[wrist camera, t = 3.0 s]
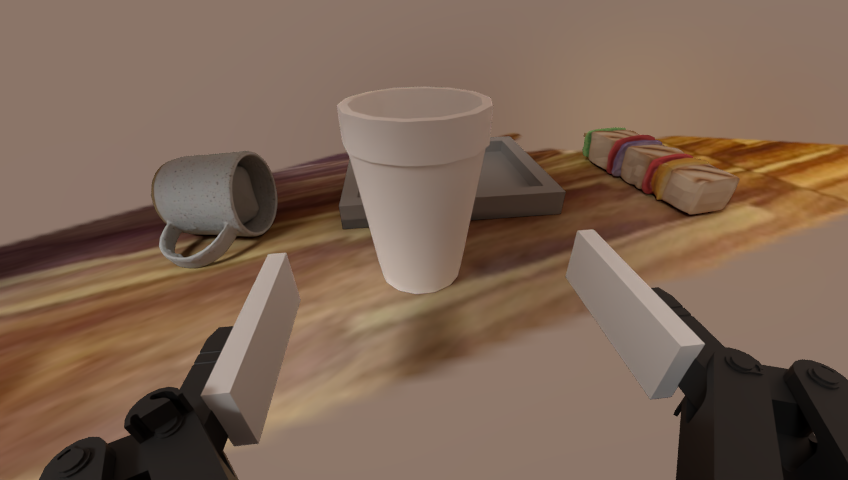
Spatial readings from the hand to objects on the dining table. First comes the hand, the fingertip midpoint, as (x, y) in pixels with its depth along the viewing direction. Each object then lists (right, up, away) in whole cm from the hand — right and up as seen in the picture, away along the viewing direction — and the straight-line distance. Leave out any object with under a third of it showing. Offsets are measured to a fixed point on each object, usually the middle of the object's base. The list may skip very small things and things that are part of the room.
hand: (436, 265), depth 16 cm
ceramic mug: (-20, +1, +17) cm, 26 cm away
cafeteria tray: (+2, +8, +26) cm, 27 cm away
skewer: (+25, +9, +27) cm, 38 cm away
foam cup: (-1, -1, +13) cm, 13 cm away
